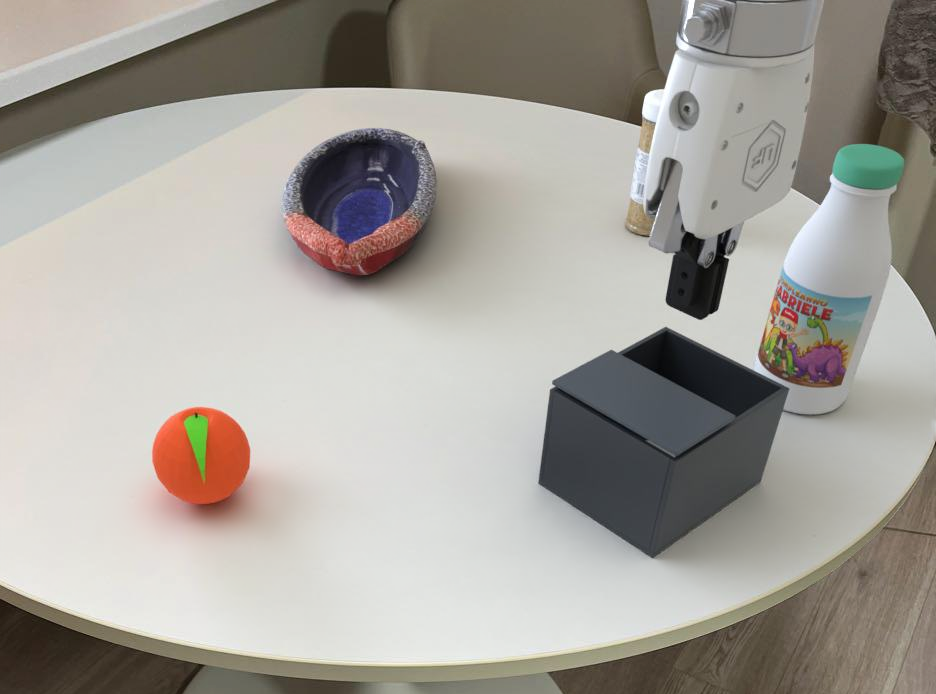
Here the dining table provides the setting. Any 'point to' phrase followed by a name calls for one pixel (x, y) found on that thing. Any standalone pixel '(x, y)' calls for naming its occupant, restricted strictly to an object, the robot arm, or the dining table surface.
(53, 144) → the dining table surface
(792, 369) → the milk bottle
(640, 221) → the sprinkles bottle
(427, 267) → the dining table surface
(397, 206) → the dish
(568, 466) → the bin
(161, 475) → the clementine
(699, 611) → the dining table surface
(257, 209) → the dining table surface
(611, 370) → the flap
